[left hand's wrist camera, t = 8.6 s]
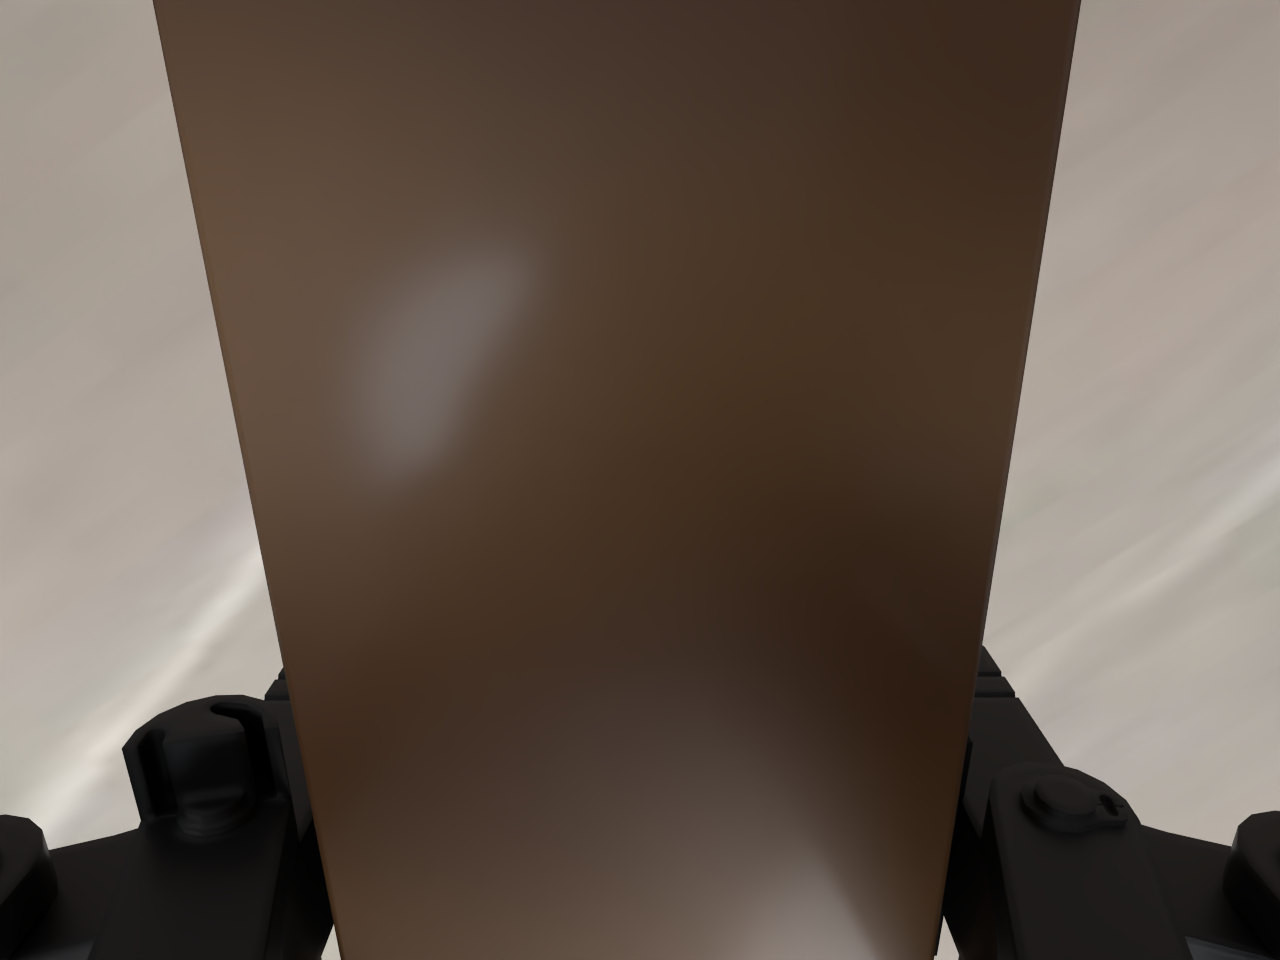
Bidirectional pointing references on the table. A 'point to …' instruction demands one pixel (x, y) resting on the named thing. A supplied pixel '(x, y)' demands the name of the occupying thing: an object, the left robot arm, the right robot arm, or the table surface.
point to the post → (626, 444)
